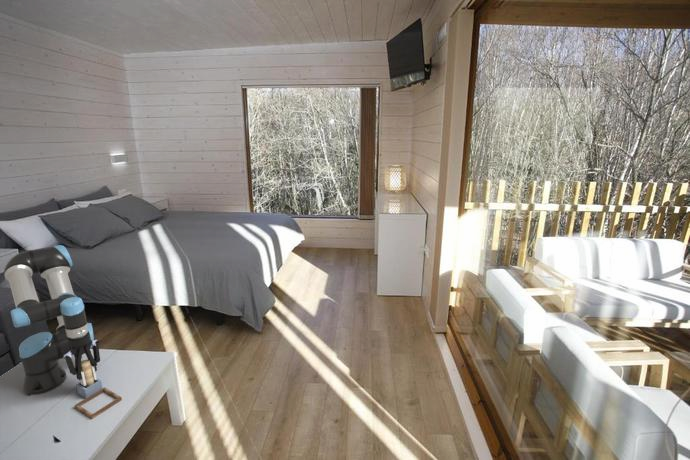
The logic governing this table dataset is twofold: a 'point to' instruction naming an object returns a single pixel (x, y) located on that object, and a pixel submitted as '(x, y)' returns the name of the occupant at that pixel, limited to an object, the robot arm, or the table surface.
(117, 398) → the brown wooden frame
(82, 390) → the blue grey open box
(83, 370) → the pestle
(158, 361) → the table surface
